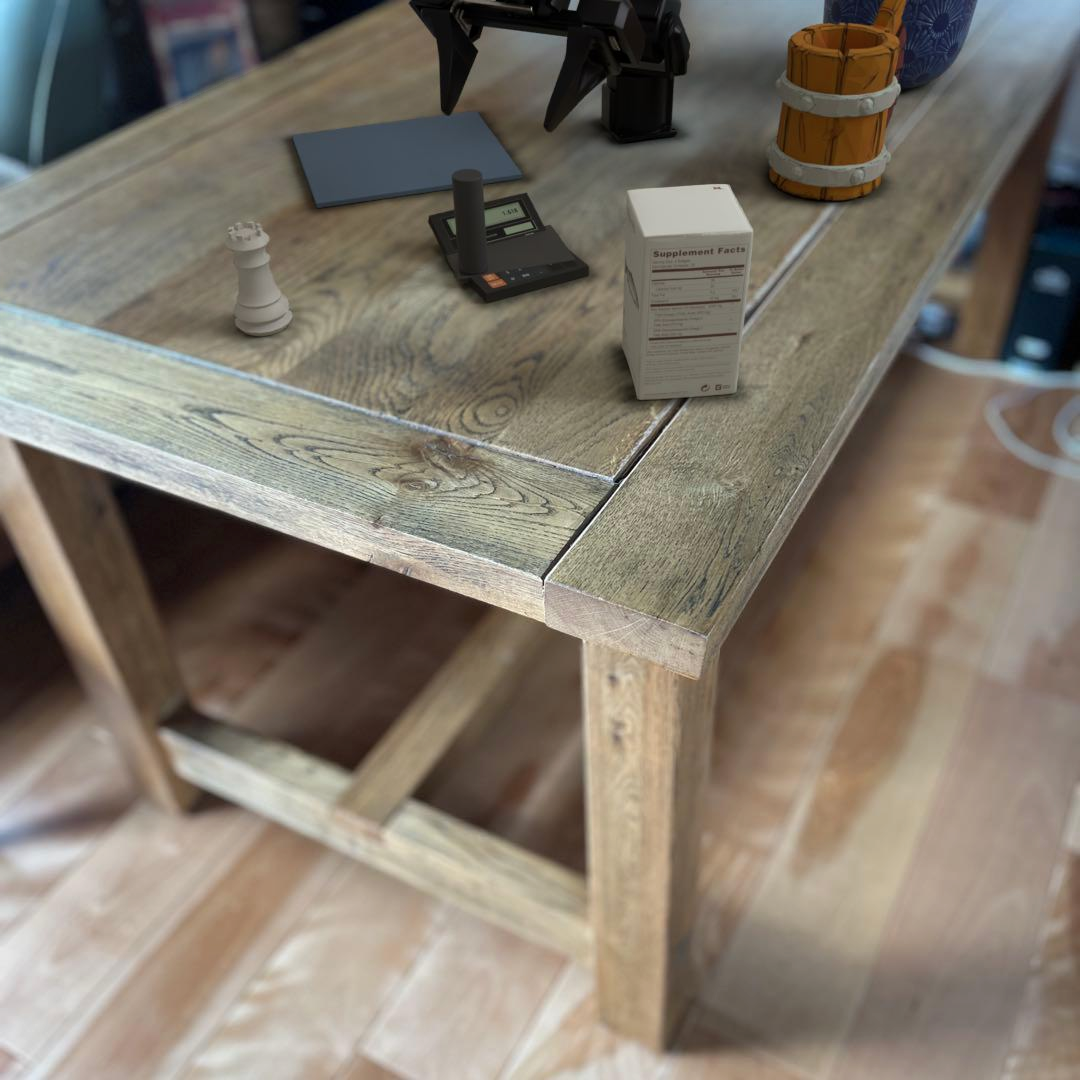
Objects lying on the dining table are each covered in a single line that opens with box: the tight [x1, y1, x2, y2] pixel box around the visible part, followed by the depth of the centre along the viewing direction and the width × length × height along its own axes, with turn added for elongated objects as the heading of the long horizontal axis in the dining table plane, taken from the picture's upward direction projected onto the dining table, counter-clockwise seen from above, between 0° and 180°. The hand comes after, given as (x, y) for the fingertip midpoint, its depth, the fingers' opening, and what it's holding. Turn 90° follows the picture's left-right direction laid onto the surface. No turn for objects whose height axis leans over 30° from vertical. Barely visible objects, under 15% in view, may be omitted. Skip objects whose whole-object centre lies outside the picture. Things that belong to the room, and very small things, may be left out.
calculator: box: [427, 192, 590, 304], centre depth 94 cm, size 9×12×3 cm
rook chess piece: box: [224, 220, 293, 337], centre depth 85 cm, size 4×4×8 cm
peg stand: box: [446, 169, 576, 284], centre depth 92 cm, size 10×7×8 cm
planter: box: [822, 0, 979, 90], centre depth 122 cm, size 17×17×15 cm
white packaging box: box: [621, 183, 755, 401], centre depth 77 cm, size 7×7×13 cm
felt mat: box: [291, 110, 523, 209], centre depth 112 cm, size 20×18×1 cm
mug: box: [765, 0, 907, 202], centre depth 102 cm, size 11×16×15 cm, turn 137°
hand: (495, 121), depth 88 cm, fingers open, 9 cm apart
